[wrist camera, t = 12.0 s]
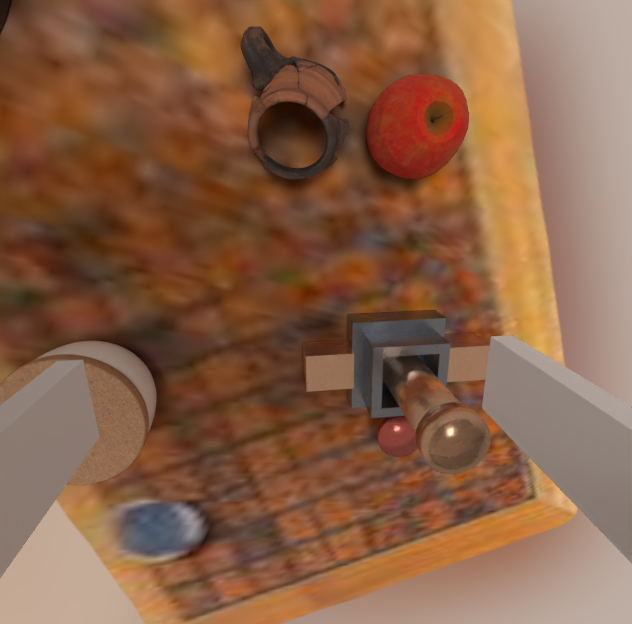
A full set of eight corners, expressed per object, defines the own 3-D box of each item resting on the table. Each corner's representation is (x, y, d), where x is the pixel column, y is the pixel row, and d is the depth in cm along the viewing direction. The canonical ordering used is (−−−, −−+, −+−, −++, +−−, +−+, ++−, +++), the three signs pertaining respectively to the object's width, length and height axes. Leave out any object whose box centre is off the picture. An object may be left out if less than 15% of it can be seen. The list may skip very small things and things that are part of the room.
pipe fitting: (373, 387, 42) (420, 477, 29) (374, 343, 41) (425, 416, 27) (419, 384, 43) (486, 470, 30) (422, 340, 41) (494, 411, 28)
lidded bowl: (86, 443, 44) (28, 522, 34) (23, 348, 40) (-65, 404, 30) (190, 405, 44) (164, 471, 33) (137, 306, 40) (89, 346, 30)
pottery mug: (369, 114, 37) (369, 150, 32) (295, 168, 42) (283, 208, 36) (289, -15, 31) (270, 1, 25) (212, 66, 36) (182, 95, 30)
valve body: (305, 434, 47) (310, 474, 40) (302, 316, 42) (307, 339, 36) (464, 421, 49) (494, 458, 42) (476, 307, 44) (513, 328, 37)
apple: (429, 77, 37) (490, 32, 26) (446, 165, 39) (508, 156, 29) (347, 104, 36) (376, 70, 26) (370, 191, 39) (404, 191, 29)
